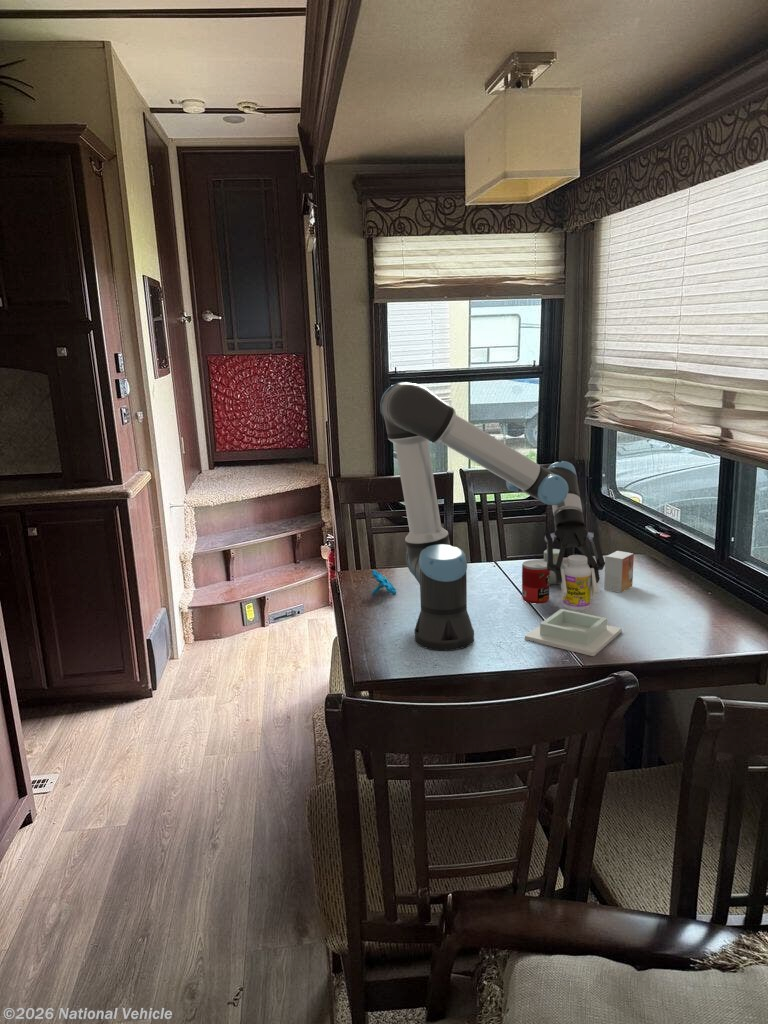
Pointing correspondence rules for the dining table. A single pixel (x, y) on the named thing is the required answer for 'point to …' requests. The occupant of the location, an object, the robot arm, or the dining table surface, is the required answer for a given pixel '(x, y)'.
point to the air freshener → (555, 557)
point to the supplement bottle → (577, 583)
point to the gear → (382, 583)
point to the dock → (574, 632)
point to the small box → (618, 571)
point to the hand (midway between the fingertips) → (579, 594)
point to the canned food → (535, 581)
